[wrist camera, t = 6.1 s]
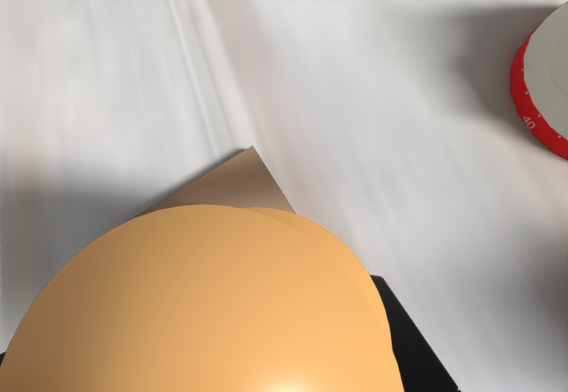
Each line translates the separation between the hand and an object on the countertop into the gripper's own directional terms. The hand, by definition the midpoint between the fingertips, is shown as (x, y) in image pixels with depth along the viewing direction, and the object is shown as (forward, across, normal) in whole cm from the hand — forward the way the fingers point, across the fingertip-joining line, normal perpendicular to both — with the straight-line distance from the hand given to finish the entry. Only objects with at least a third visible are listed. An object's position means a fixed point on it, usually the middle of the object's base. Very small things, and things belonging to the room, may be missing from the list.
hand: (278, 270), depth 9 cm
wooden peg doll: (+4, 0, +6) cm, 7 cm away
